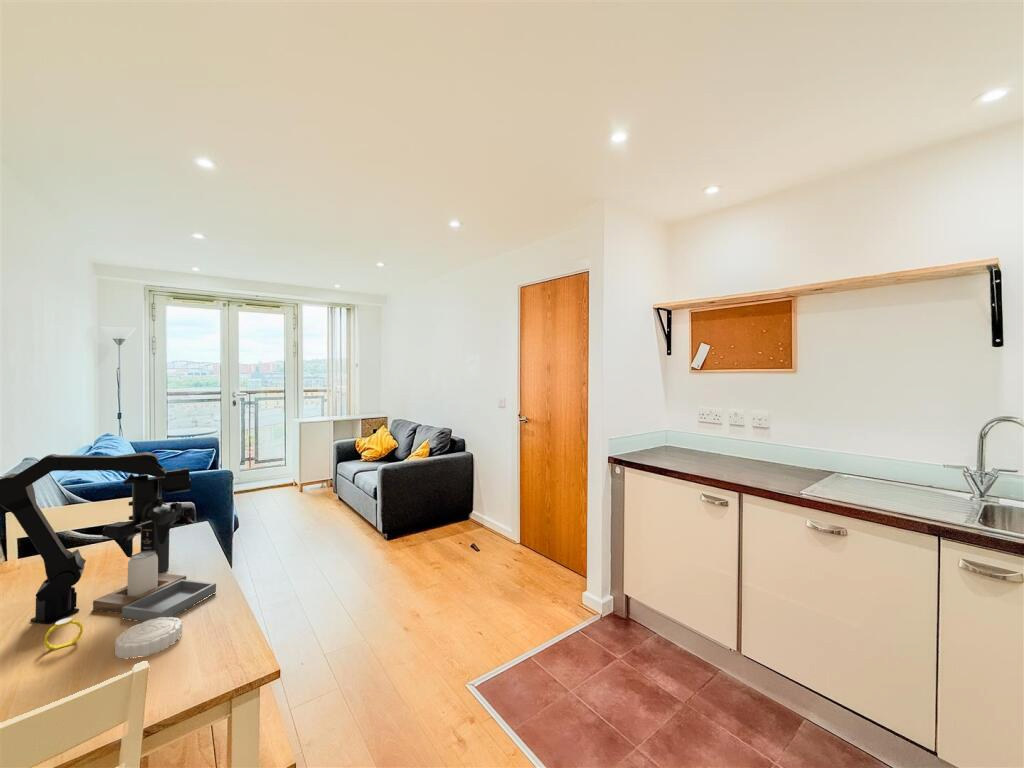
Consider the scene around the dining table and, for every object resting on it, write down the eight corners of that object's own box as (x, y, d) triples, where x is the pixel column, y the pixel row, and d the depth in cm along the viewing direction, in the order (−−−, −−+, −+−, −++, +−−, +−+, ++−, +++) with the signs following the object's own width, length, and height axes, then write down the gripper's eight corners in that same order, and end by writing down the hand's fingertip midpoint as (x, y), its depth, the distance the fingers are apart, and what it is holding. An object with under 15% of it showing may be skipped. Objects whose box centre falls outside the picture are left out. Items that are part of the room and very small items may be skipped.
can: (130, 604, 114) (131, 561, 114) (124, 597, 118) (125, 555, 118) (160, 595, 119) (161, 553, 120) (154, 588, 123) (154, 548, 123)
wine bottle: (155, 576, 131) (157, 481, 131) (137, 576, 131) (139, 481, 131) (170, 568, 137) (172, 477, 137) (153, 568, 137) (155, 477, 137)
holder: (125, 614, 110) (125, 604, 110) (93, 609, 111) (93, 600, 111) (186, 584, 126) (186, 575, 126) (157, 580, 128) (157, 572, 128)
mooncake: (175, 623, 106) (175, 609, 106) (188, 642, 99) (188, 626, 99) (110, 645, 97) (111, 630, 97) (119, 668, 89) (119, 651, 89)
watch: (45, 655, 93) (42, 630, 93) (45, 650, 95) (43, 625, 95) (83, 642, 98) (81, 617, 97) (83, 637, 99) (81, 612, 99)
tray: (160, 624, 105) (160, 612, 105) (121, 619, 107) (122, 607, 107) (215, 593, 121) (216, 583, 121) (181, 589, 123) (181, 579, 123)
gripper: (136, 507, 109) (137, 566, 109) (199, 489, 128) (199, 539, 128) (100, 505, 111) (101, 564, 111) (167, 487, 129) (168, 537, 129)
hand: (146, 550), depth 120 cm, fingers open, 9 cm apart
